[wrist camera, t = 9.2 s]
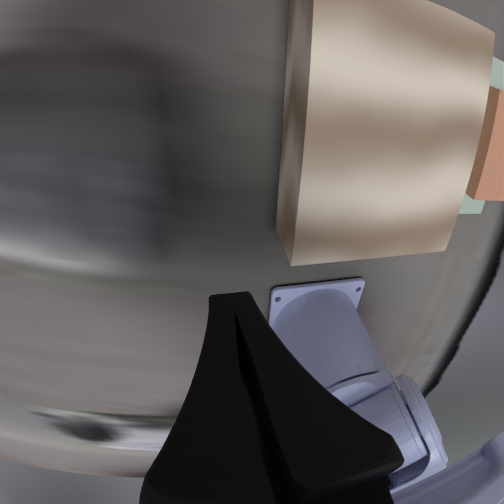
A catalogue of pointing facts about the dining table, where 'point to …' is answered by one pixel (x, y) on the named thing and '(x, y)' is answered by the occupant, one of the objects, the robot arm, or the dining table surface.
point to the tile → (489, 152)
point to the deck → (378, 127)
